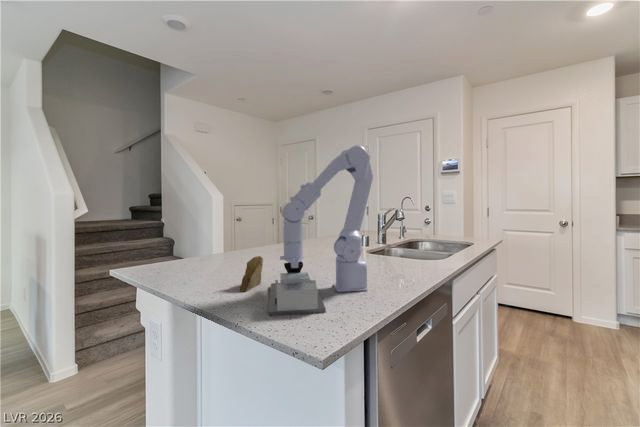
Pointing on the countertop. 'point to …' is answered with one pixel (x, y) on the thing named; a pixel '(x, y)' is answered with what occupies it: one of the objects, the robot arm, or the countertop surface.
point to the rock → (252, 274)
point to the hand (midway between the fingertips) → (293, 286)
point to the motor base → (295, 299)
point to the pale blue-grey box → (295, 278)
